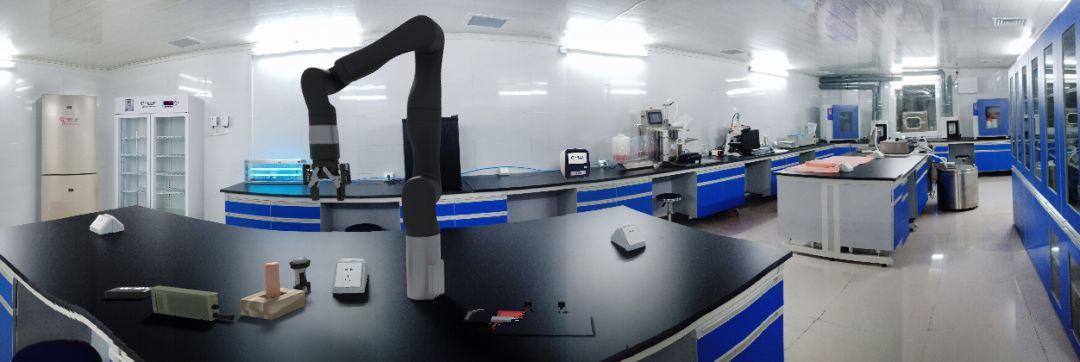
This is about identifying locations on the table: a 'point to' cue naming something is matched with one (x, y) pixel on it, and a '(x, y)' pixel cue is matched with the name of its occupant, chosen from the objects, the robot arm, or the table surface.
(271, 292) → the peg
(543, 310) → the table surface
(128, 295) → the multiport hub
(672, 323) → the table surface
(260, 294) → the socket block
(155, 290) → the handheld radio
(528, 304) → the red board with handle
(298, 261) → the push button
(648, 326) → the table surface
